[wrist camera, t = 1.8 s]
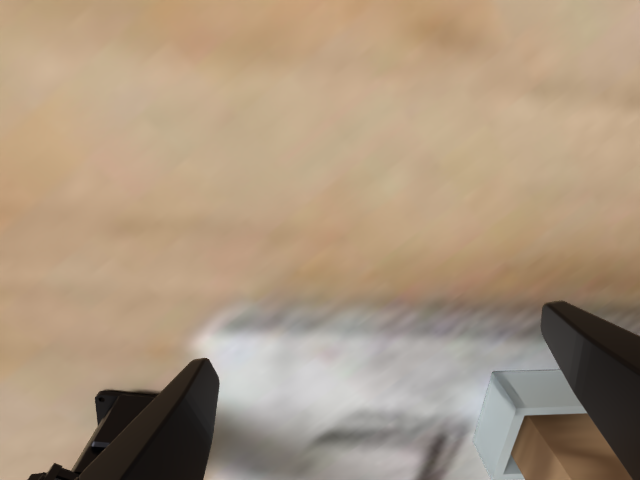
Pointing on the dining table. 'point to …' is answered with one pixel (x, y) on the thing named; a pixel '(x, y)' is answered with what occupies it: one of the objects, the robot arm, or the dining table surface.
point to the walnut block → (565, 449)
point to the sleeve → (517, 414)
